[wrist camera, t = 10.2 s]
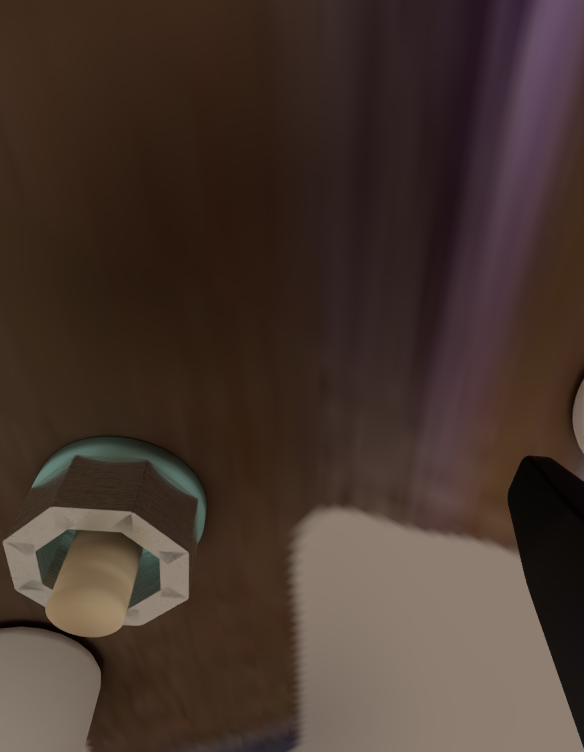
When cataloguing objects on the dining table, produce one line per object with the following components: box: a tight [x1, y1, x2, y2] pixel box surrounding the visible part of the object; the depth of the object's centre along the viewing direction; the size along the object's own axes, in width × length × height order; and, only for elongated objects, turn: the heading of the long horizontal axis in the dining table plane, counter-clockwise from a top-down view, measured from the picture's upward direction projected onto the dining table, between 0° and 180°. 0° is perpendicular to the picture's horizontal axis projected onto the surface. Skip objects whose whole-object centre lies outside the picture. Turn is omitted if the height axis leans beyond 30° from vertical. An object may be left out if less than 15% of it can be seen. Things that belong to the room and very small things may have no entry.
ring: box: [3, 455, 198, 626], centre depth 24 cm, size 7×7×3 cm
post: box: [31, 436, 207, 637], centre depth 24 cm, size 8×8×6 cm
